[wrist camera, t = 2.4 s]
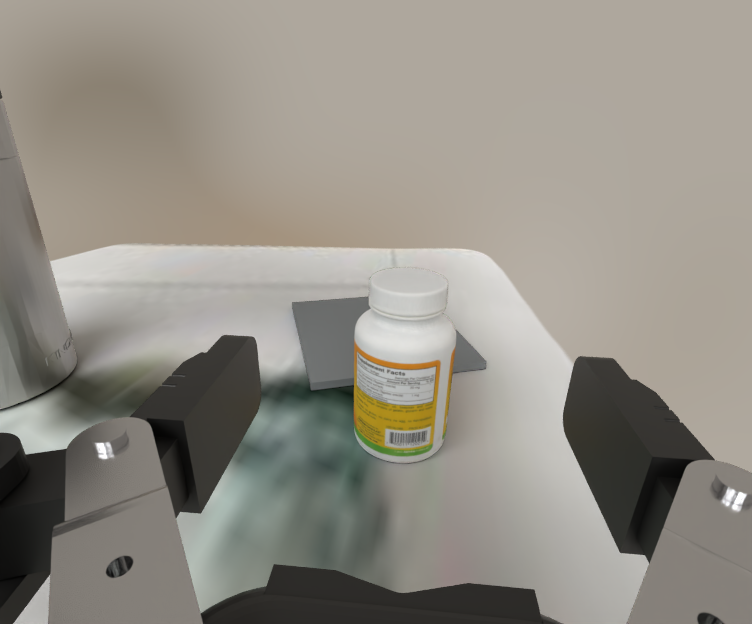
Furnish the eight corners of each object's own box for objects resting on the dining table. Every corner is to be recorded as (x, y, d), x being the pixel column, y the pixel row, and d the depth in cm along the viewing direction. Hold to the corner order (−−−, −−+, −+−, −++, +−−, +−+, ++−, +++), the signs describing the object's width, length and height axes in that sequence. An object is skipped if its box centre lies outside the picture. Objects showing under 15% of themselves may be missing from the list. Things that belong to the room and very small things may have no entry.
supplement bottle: (394, 395, 30) (402, 256, 26) (462, 433, 26) (483, 280, 22) (334, 433, 26) (332, 277, 22) (404, 482, 23) (417, 309, 19)
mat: (311, 390, 30) (310, 383, 30) (292, 308, 42) (292, 302, 42) (485, 368, 33) (486, 361, 33) (420, 298, 45) (421, 292, 45)
